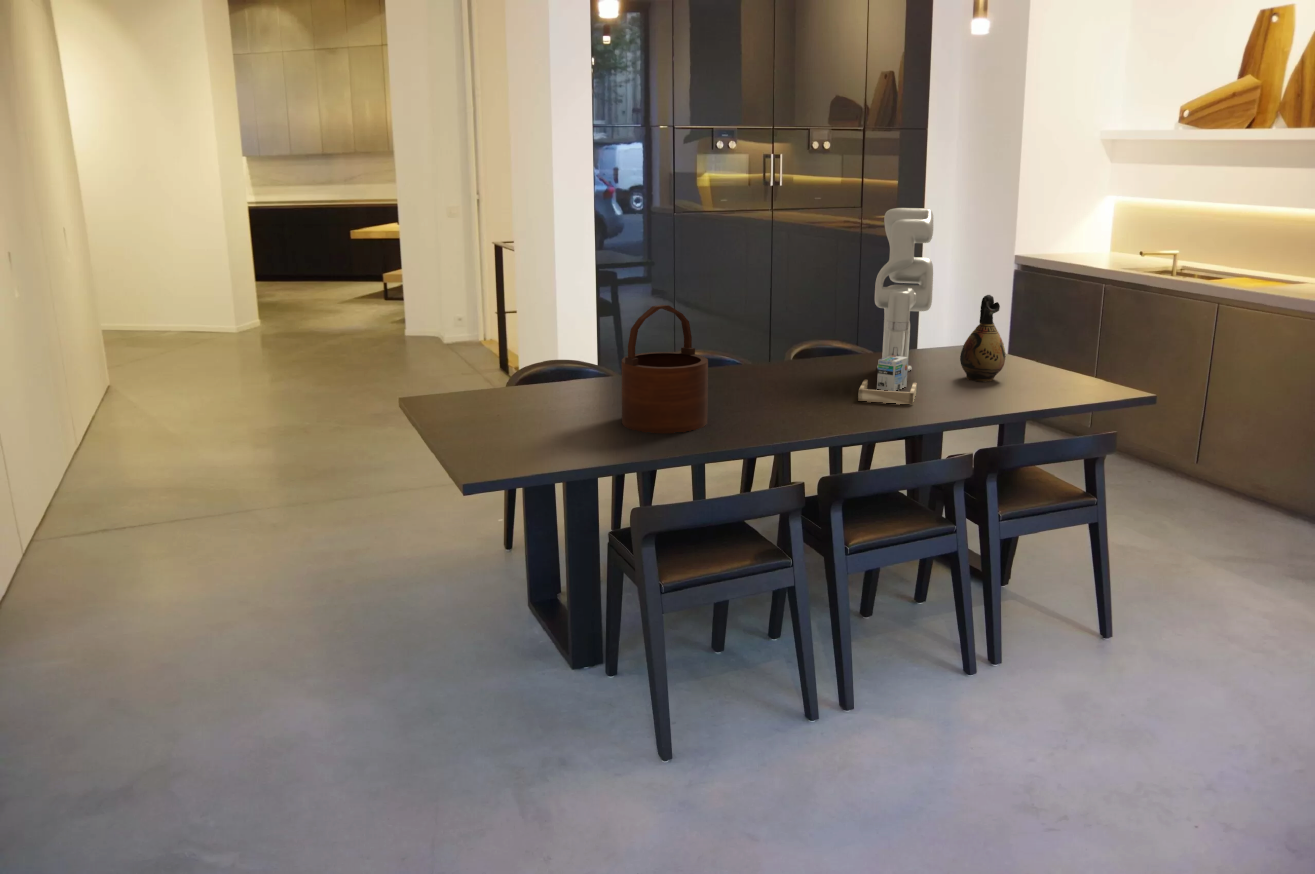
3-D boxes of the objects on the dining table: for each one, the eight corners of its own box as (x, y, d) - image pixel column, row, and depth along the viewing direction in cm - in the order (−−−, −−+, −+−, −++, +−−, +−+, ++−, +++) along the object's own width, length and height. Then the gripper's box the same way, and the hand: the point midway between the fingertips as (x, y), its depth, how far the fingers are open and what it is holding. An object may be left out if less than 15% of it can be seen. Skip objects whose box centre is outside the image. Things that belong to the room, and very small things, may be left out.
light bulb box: (894, 392, 347) (896, 361, 344) (875, 390, 351) (877, 359, 348) (907, 387, 355) (909, 356, 353) (889, 384, 359) (891, 354, 357)
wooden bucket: (725, 422, 308) (727, 306, 299) (664, 438, 291) (664, 316, 282) (665, 408, 326) (665, 298, 317) (604, 422, 309) (602, 306, 299)
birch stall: (863, 391, 349) (864, 379, 348) (916, 394, 344) (916, 382, 343) (858, 401, 334) (858, 389, 333) (912, 405, 329) (913, 393, 328)
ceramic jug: (1009, 384, 360) (1017, 298, 353) (965, 383, 361) (972, 298, 353) (994, 374, 377) (1002, 292, 369) (952, 373, 377) (959, 292, 369)
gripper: (888, 322, 366) (885, 372, 371) (884, 328, 352) (881, 381, 357) (910, 323, 364) (907, 374, 369) (907, 329, 350) (903, 382, 355)
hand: (894, 377), depth 363 cm, fingers closed
